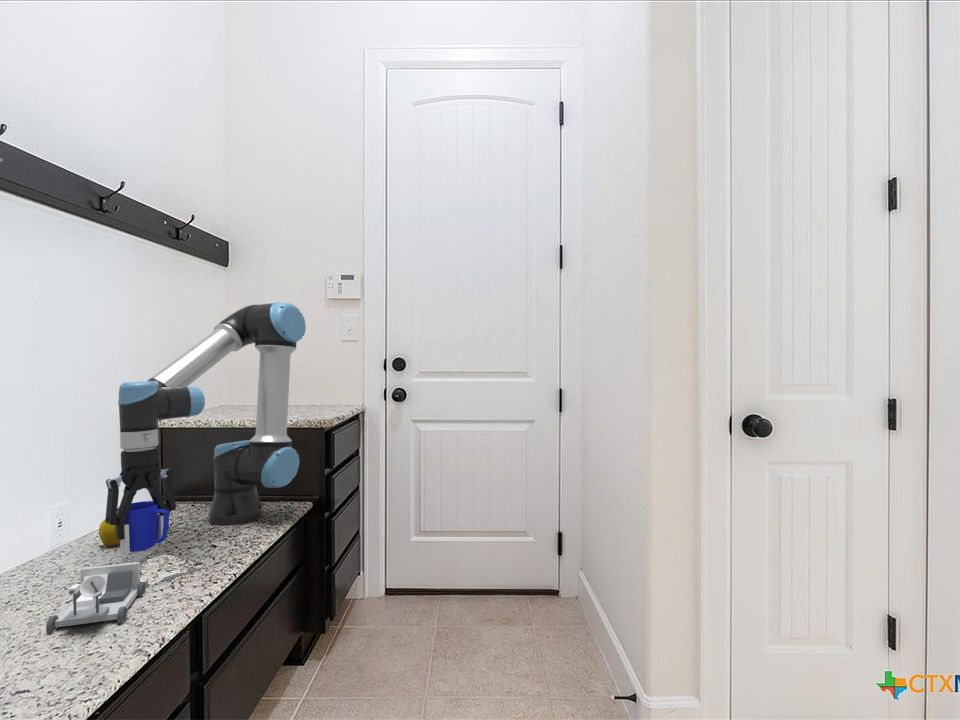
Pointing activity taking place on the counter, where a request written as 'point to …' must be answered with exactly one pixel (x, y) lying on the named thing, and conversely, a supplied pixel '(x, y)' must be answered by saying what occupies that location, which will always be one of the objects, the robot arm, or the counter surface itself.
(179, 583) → the counter surface
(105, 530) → the apple
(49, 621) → the toy car
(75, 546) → the counter surface
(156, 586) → the counter surface
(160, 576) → the label panel
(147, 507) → the mug
